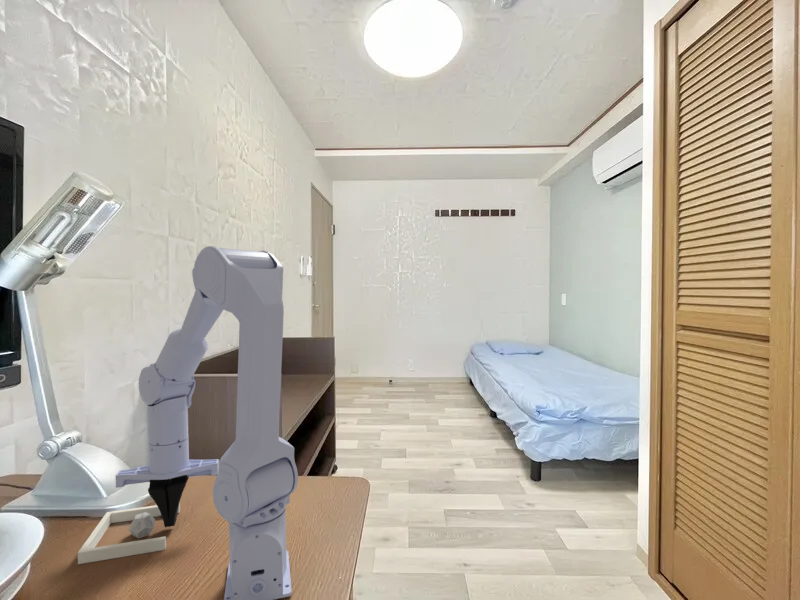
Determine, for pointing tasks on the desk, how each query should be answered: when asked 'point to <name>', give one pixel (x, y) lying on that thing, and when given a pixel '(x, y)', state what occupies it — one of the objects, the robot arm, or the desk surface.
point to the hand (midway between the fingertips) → (170, 523)
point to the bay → (123, 549)
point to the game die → (142, 525)
